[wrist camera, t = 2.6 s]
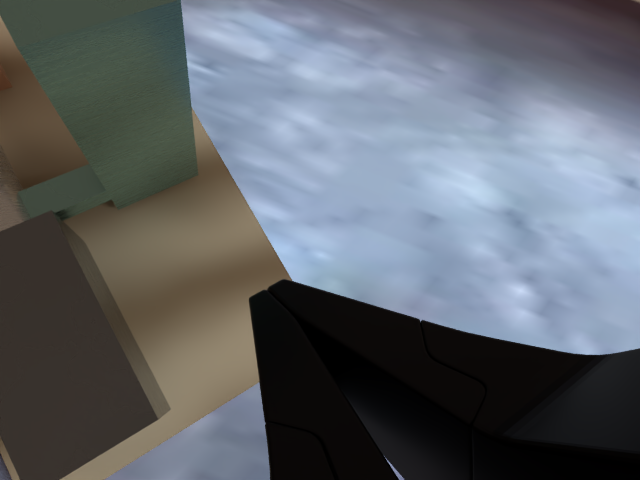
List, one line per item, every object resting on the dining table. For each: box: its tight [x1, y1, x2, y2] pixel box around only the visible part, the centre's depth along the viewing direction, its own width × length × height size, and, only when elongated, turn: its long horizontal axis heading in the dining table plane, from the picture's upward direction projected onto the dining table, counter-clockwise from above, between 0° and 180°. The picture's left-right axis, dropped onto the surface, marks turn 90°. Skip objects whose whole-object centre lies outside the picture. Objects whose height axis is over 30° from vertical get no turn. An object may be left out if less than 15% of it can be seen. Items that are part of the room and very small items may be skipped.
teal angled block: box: [0, 0, 198, 231], centre depth 15 cm, size 13×9×11 cm
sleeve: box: [0, 210, 171, 480], centre depth 17 cm, size 8×4×4 cm, turn 31°
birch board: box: [0, 16, 292, 480], centre depth 21 cm, size 22×14×1 cm, turn 31°
